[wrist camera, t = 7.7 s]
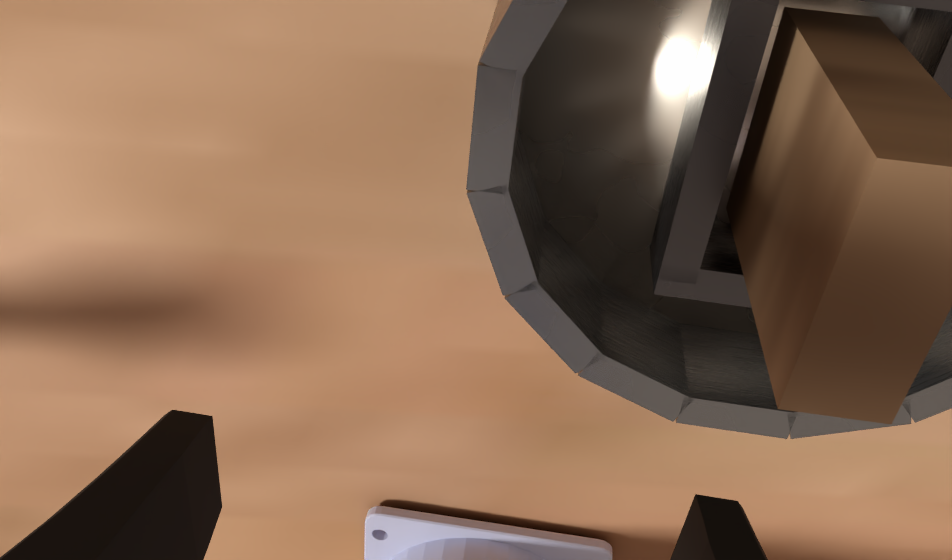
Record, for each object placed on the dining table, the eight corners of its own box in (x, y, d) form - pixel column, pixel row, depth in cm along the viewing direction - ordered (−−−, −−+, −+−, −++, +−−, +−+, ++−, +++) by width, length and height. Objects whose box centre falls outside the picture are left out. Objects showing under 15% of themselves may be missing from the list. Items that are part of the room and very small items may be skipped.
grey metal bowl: (967, 370, 21) (1024, 473, 19) (466, 299, 22) (447, 389, 19) (1301, -213, 14) (1482, -189, 11) (527, -298, 14) (511, -296, 12)
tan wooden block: (807, 217, 19) (891, 424, 13) (726, 207, 19) (777, 409, 13) (879, 17, 16) (1018, 175, 11) (784, 6, 16) (876, 158, 11)
